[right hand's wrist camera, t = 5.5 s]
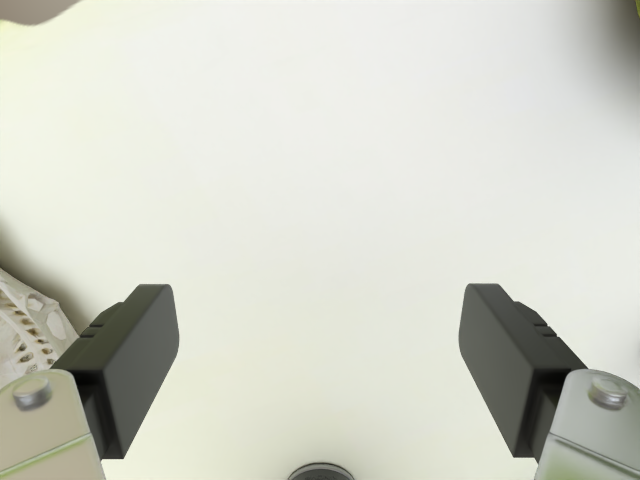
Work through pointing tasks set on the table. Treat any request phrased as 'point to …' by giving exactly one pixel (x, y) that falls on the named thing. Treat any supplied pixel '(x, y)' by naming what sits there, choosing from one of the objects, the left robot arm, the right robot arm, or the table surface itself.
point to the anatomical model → (29, 330)
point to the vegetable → (638, 6)
